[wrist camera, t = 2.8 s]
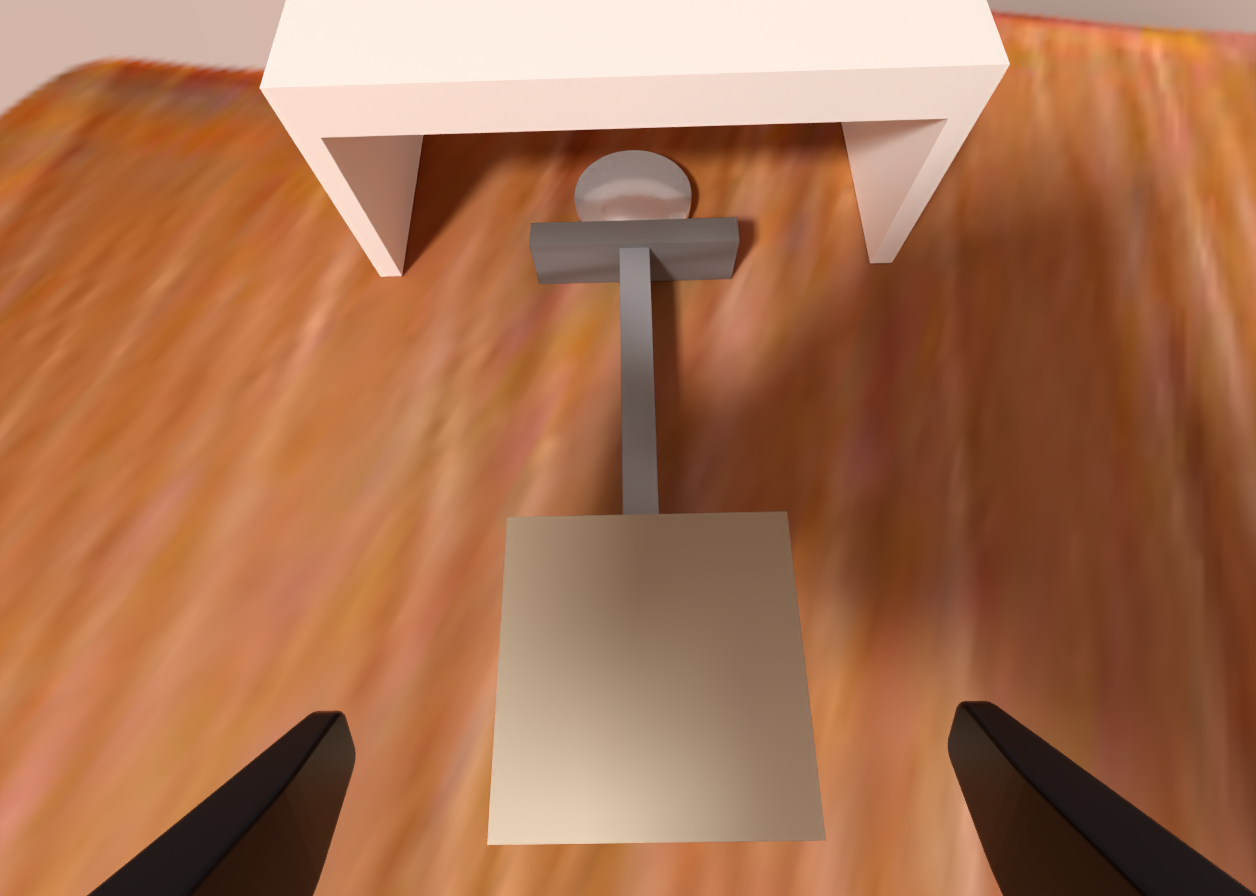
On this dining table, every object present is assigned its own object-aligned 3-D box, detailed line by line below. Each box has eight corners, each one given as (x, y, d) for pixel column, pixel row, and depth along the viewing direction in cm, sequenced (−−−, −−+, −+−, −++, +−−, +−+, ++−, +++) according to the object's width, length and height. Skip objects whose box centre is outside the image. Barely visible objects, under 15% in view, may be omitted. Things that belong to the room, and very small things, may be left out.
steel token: (712, 210, 23) (715, 191, 22) (634, 278, 22) (634, 261, 21) (631, 153, 24) (631, 132, 24) (554, 215, 23) (550, 195, 22)
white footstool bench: (891, 262, 22) (1009, 64, 15) (380, 276, 22) (259, 88, 15) (857, 105, 25) (942, -122, 18) (406, 119, 25) (315, -99, 18)
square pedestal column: (777, 755, 16) (1197, 979, 4) (516, 759, 16) (135, 989, 4) (729, 256, 22) (834, -262, 10) (540, 261, 22) (417, -246, 10)
